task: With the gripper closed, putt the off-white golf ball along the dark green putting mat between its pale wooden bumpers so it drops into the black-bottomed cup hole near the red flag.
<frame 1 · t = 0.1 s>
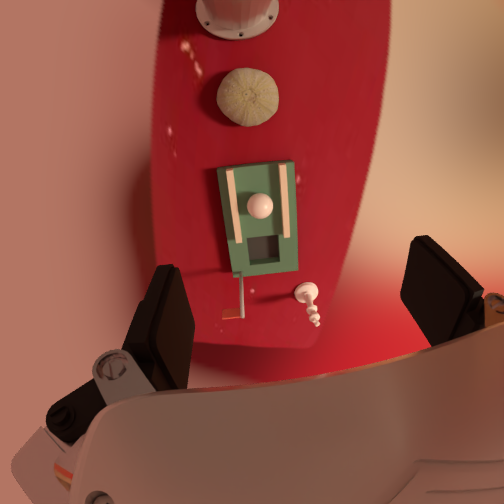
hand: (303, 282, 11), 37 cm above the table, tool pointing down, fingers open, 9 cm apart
chess piece: (305, 291, 57), on the table
putting mat: (260, 219, 49), on the table
sea urchin shell: (247, 96, 39), on the table
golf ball: (260, 205, 43), point 4 cm above the table, touching putting mat
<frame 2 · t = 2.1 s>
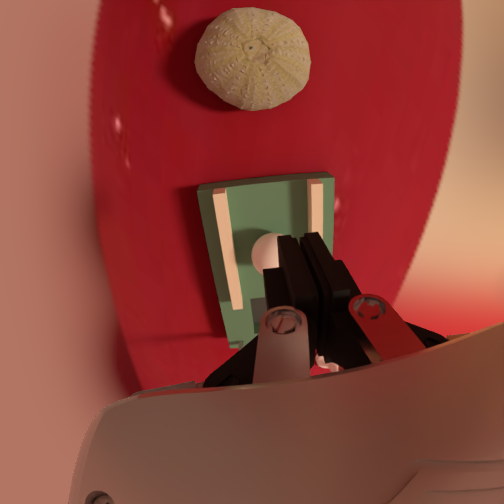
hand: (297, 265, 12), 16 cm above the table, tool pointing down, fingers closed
chess piece: (330, 354, 39), on the table
putting mat: (272, 267, 30), on the table
sea urchin shell: (252, 59, 20), on the table
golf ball: (274, 255, 25), point 4 cm above the table, touching putting mat
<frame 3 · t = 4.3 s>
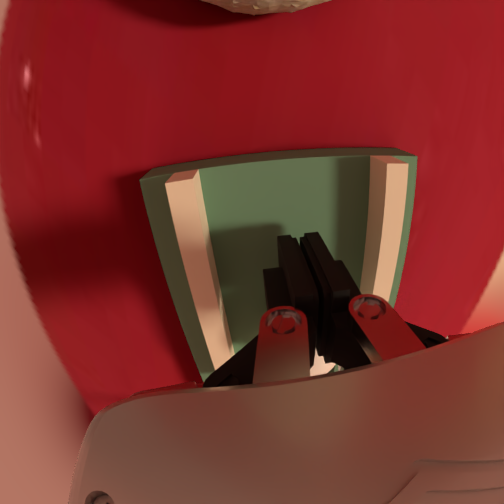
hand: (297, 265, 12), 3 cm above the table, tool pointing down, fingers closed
putting mat: (289, 317, 17), on the table
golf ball: (301, 340, 13), point 4 cm above the table, tilted 32°
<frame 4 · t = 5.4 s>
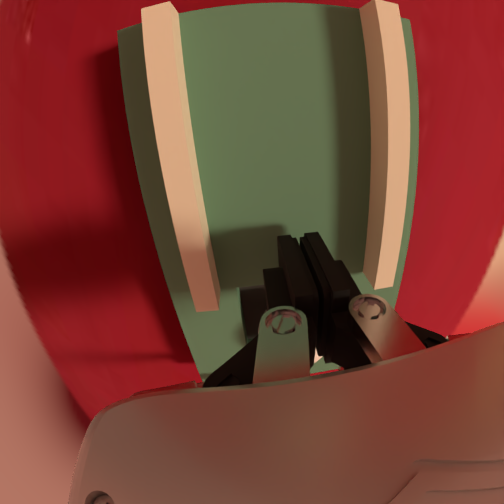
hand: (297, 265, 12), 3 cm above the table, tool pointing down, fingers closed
putting mat: (285, 220, 14), on the table
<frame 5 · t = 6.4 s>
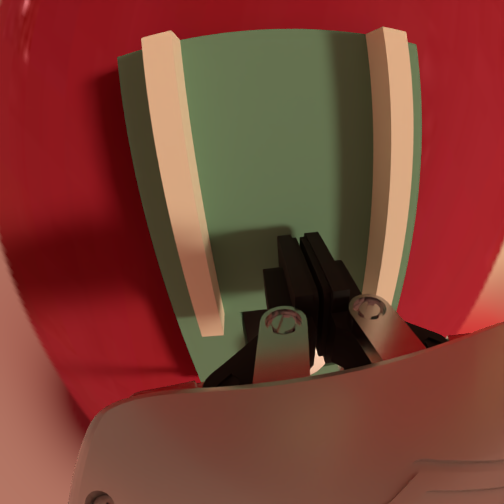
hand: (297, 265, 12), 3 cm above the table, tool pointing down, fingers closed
putting mat: (287, 246, 14), on the table
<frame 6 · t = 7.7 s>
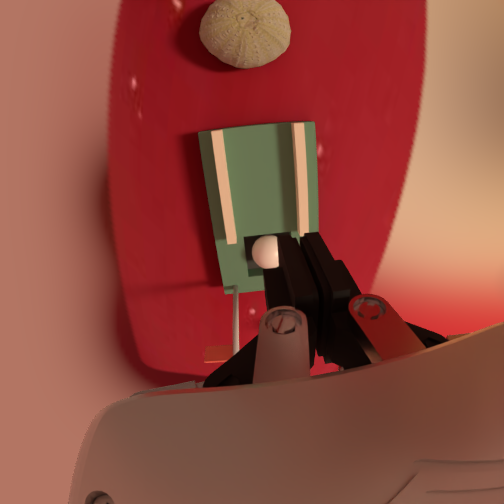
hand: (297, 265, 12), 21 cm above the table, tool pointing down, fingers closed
putting mat: (264, 209, 33), on the table
sea urchin shell: (244, 33, 23), on the table
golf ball: (268, 251, 33), point 2 cm above the table, tilted 162°, touching putting mat
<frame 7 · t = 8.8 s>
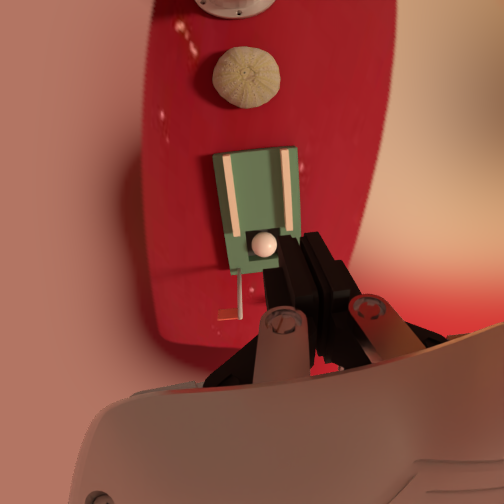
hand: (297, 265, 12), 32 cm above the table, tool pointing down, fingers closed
putting mat: (260, 211, 44), on the table
sea urchin shell: (246, 77, 35), on the table
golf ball: (264, 244, 45), point 2 cm above the table, tilted 151°, touching putting mat
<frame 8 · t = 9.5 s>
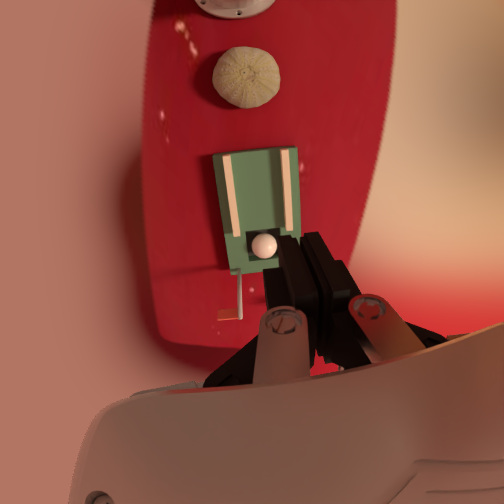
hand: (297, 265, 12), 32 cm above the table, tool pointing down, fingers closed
putting mat: (260, 211, 45), on the table
sea urchin shell: (246, 77, 35), on the table
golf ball: (264, 245, 45), point 2 cm above the table, tilted 145°, touching putting mat
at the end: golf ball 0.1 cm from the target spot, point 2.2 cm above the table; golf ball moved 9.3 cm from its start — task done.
